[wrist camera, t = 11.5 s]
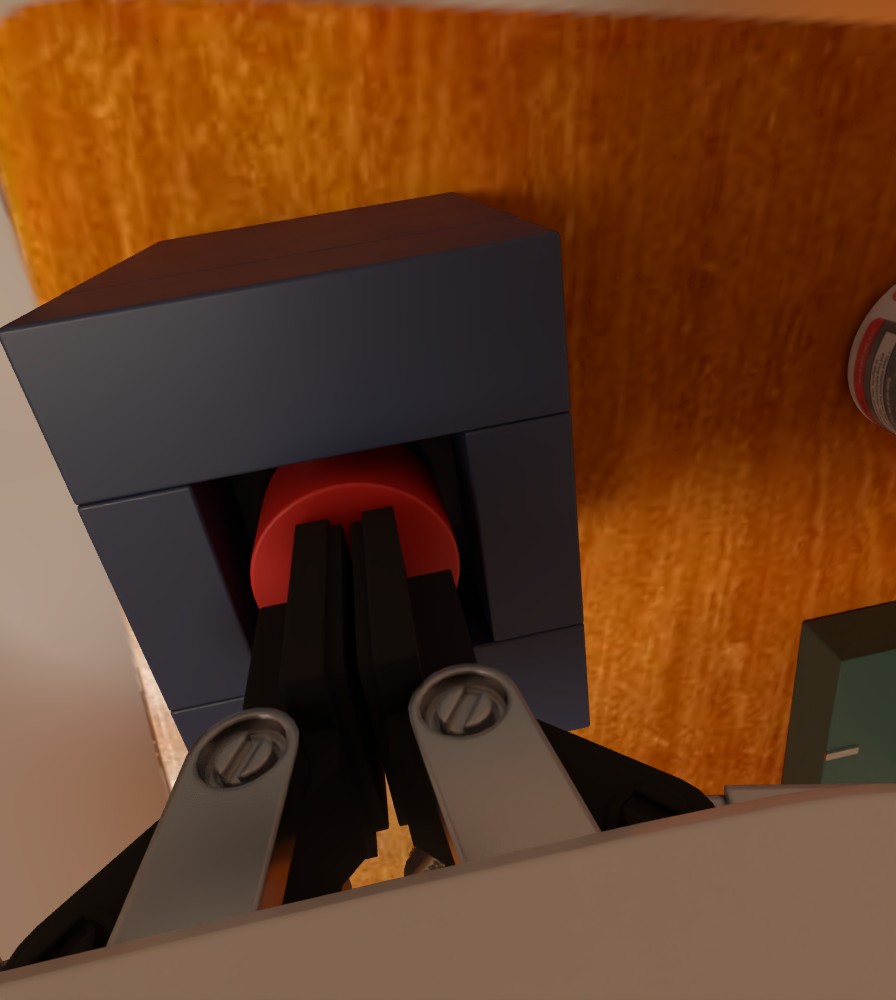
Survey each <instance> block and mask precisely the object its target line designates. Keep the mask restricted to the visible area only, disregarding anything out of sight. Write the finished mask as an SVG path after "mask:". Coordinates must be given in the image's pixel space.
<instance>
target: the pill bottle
mask: <svg viewBox="0 0 896 1000" xmlns="http://www.w3.org/2000/svg"><path fill="white" fill-rule="evenodd" d="M848 384H849V389H850V392H851V395H852V398H853V400H854V402H855V404H856V406H857V407H858V409H859V410H860V411H861V412H862V414H863V415H865V416H866V417H867V418H868V419H869V420H870V421H872V422H873V423H875V424H877V425H878V426H880V427H881V428H883V429H885V430H887V431H890V432H892V433H894V434H896V284H895V285H894V286H893V287H891V288H890V289H889V290H888V291H887V292H886V293H885V294H884V295H883V296H882V297H881V298H880V299H879V300H878V301H877V302H876V303H875V305H874V306H873V307H872V309H871V310H870V311H869V313H868V314H867V316H866V317H865V319H864V320H863V322H862V324H861V326H860V328H859V330H858V332H857V334H856V336H855V338H854V341H853V344H852V347H851V351H850V356H849V361H848Z"/></svg>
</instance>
